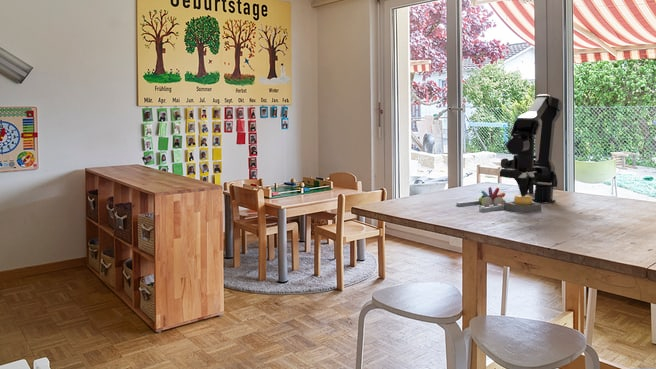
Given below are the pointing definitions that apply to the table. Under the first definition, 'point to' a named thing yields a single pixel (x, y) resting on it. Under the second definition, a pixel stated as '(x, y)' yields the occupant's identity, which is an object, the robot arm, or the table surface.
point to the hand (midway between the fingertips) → (523, 196)
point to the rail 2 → (491, 208)
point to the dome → (523, 200)
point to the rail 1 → (468, 203)
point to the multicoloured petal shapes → (492, 198)
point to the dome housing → (523, 207)
